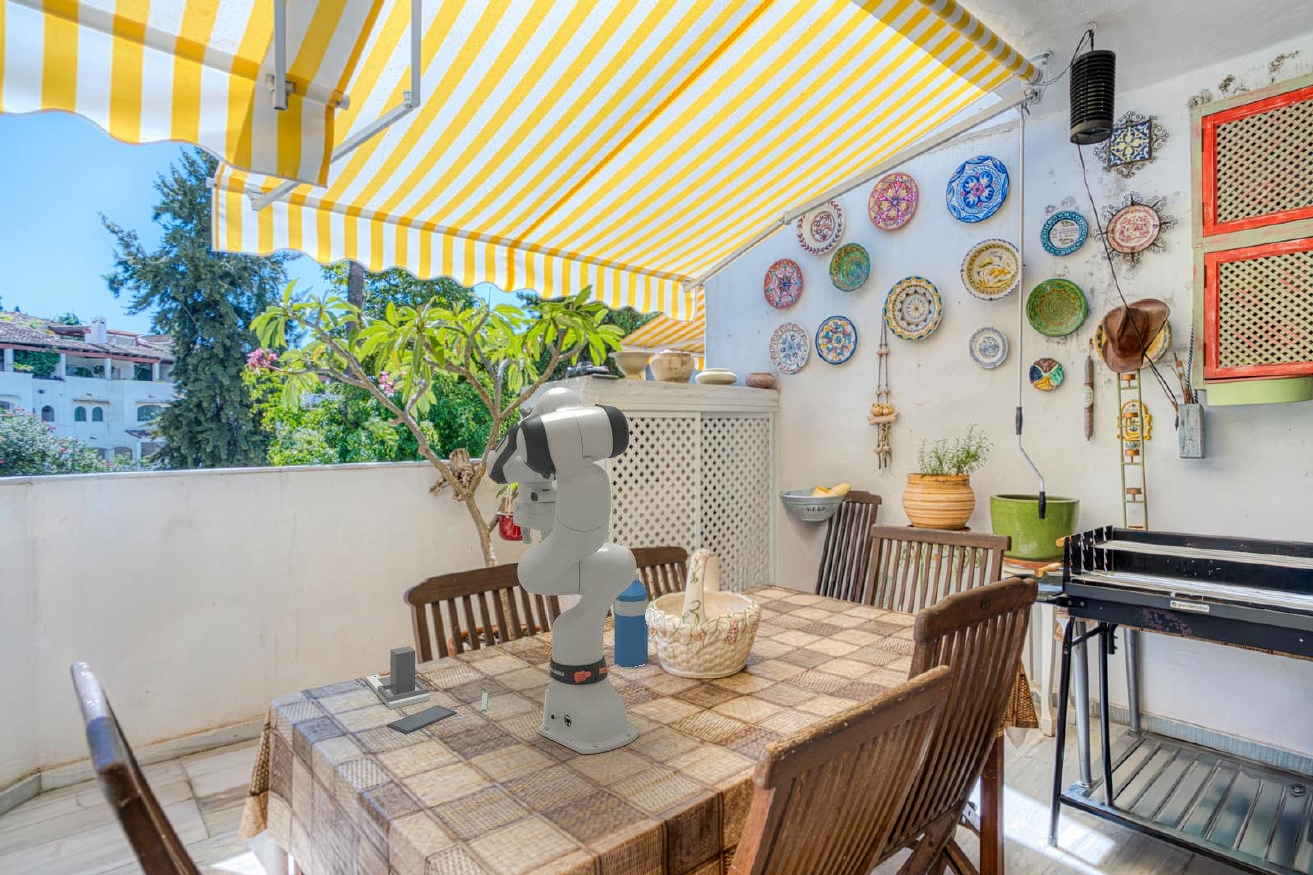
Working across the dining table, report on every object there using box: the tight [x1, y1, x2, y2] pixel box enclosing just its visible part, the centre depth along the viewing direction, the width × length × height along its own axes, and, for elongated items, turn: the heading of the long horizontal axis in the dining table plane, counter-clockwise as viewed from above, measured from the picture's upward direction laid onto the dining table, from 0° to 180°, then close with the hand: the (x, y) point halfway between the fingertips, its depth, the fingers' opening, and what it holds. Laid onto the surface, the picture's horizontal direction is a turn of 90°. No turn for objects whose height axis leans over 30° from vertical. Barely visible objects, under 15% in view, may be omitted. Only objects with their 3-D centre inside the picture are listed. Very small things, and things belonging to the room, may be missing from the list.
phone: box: [385, 704, 458, 736], centre depth 144 cm, size 7×13×1 cm, turn 145°
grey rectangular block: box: [389, 645, 416, 695], centre depth 157 cm, size 4×4×10 cm
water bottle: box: [613, 571, 649, 668], centre depth 182 cm, size 9×9×25 cm
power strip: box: [365, 669, 431, 710], centre depth 161 cm, size 22×9×2 cm, turn 37°
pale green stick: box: [480, 692, 489, 713], centre depth 154 cm, size 10×1×1 cm, turn 13°
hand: (535, 545), depth 172 cm, fingers open, 8 cm apart
